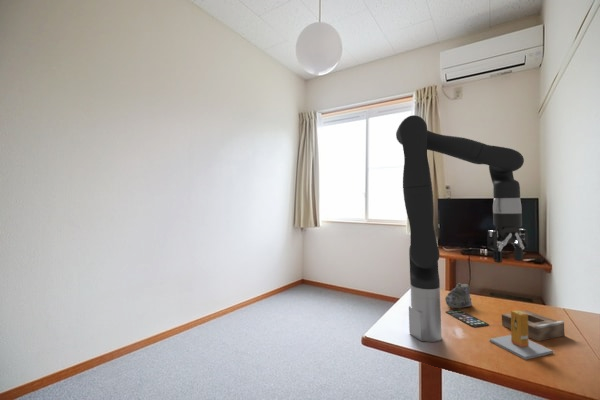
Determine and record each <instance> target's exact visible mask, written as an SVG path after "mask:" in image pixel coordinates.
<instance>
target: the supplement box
mask: <svg viewBox="0 0 600 400" xmlns="http://www.w3.org/2000/svg"><path fill="white" fill-rule="evenodd" d="M521 311H522V310H511V311H510V313H511V329H510V335H511V342H512V343H514V344H516V345H518V346H519V347H528V346H529V342H528V340H529V337H528V314H526V313H523V312H521Z"/></svg>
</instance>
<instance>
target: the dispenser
mask: <svg viewBox="0 0 600 400" xmlns="http://www.w3.org/2000/svg"><path fill="white" fill-rule="evenodd" d="M520 311H521V312H523V313H526V314H528V338H530V339H532V340H535V341H536V342H541V341H546V340H549V339H555V338H558V337H564V336H566V334H565V321H563V320H559V321H558V320H555V319H552V318H549V317H546V316H543V315H541V314H538V313H535V312H532V311H529V310H520ZM501 325H502V326H503V327H505V328H507V329H509V330H511V312H508V313H503V314H501Z"/></svg>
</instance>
